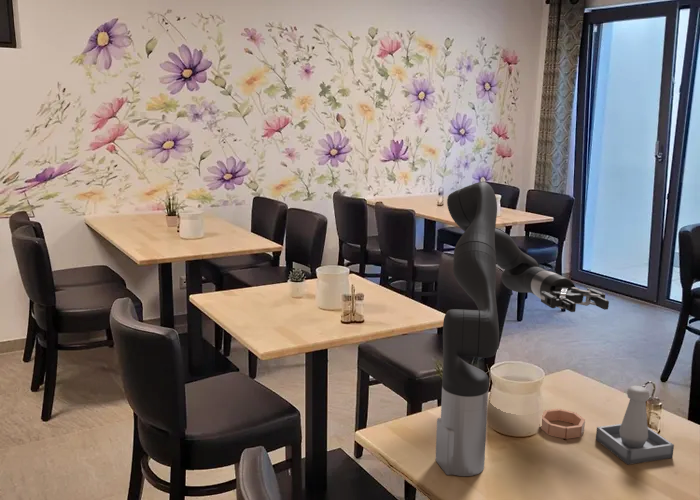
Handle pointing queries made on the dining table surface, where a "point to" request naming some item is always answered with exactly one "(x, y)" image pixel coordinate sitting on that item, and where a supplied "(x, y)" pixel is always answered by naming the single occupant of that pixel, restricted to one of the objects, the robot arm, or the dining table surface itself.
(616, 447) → the tray
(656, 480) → the dining table surface
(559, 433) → the collar
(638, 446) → the salt shaker
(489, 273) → the robot arm
